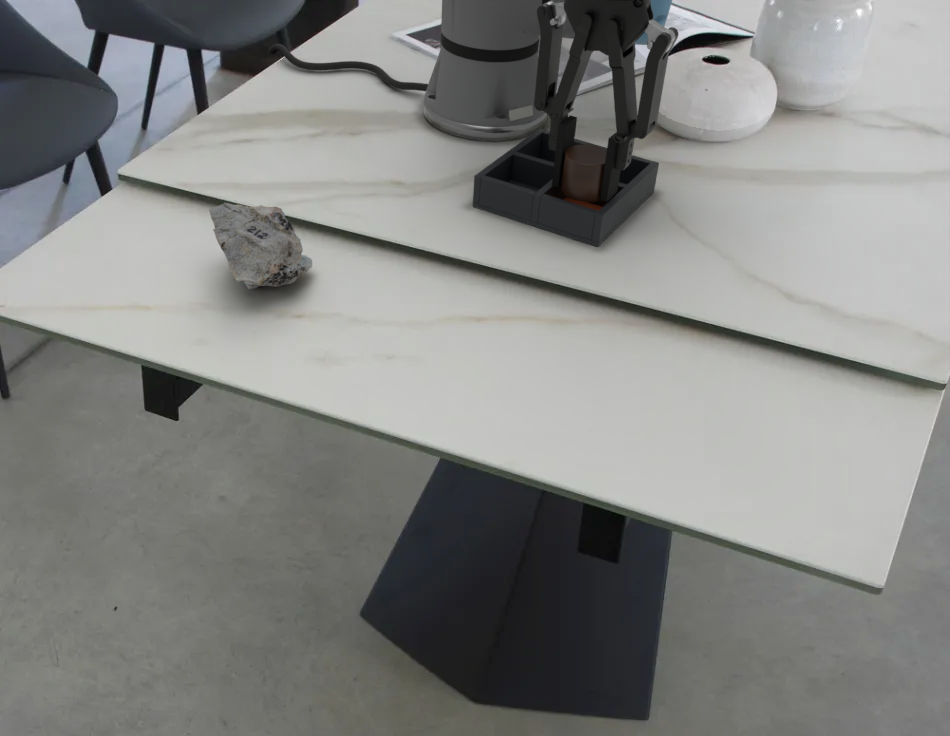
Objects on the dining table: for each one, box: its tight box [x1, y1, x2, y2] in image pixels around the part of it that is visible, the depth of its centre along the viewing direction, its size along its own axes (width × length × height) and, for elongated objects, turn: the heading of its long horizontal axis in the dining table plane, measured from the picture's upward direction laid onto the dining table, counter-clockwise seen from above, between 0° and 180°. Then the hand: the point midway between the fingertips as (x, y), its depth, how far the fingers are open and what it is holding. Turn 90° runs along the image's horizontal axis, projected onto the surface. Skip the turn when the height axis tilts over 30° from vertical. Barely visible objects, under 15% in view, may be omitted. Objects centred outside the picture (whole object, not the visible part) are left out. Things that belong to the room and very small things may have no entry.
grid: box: [472, 128, 660, 247], centre depth 111 cm, size 15×15×4 cm
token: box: [561, 144, 607, 202], centre depth 105 cm, size 5×5×4 cm
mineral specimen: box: [208, 202, 313, 291], centre depth 95 cm, size 10×8×10 cm
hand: (584, 188), depth 106 cm, fingers closed on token, 5 cm apart
